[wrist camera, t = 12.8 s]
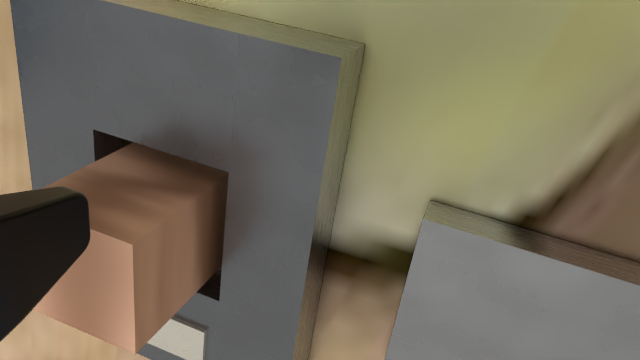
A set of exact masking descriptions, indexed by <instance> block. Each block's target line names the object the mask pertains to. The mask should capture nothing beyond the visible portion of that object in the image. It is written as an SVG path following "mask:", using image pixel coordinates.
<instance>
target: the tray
mask: <svg viewBox="0 0 640 360" xmlns="http://www.w3.org/2000/svg"><path fill="white" fill-rule="evenodd" d="M385 360H640V263H638V262H635V261H632V260H628V259H625V258H622V257H618V256H615V255H612V254H608V253H605V252H602V251H598V250H595V249H592V248H588V247H585V246H582V245H578V244H575V243H572V242H568V241H565V240H562V239H558V238H555V237H552V236H548V235H545V234H542V233H538V232H535V231H532V230H528V229H525V228H522V227H518V226H515V225H512V224H508V223H505V222H502V221H498V220H495V219H492V218H488V217H485V216H482V215H478V214H475V213H472V212H468V211H465V210H462V209H458V208H455V207H452V206H448V205H445V204H442V203H438V202H435V201H432V200H431V201H430V204H429V206H428V208H427V211H426V213H425V215H424V218H423V221H422V224H421V228H420V232H419V236H418V239H417V243H416V247H415V250H414V254H413V258H412V261H411V265H410V269H409V272H408V276H407V280H406V283H405V287H404V291H403V294H402V298H401V302H400V306H399V309H398V313H397V317H396V320H395V324H394V328H393V331H392V335H391V339H390V342H389V346H388V350H387V353H386V357H385Z"/></svg>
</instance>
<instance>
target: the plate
mask: <svg viewBox="0 0 640 360" xmlns="http://www.w3.org/2000/svg"><path fill="white" fill-rule="evenodd" d="M10 3H11V12H12V20H13V29H14V37H15V46H16V54H17V62H18V71H19V79H20V88H21V96H22V105H23V113H24V121H25V130H26V138H27V147H28V155H29V164H30V172H31V180H32V189H33V190H37V189H42V188H44V187H46V186H48V185H50V184H52V183H54V182H56V181H58V180H60V179H62V178H64V177H66V176H68V175H70V174H72V173H74V172H76V171H77V170H79V169H81V168H83V167H85V166H87V165H89V164H91V163H93V162H95V161H97V160H99V159H101V158H103V157H105V156H107V155H109V154H111V153H113V152H115V151H117V150H119V149H121V148H123V147H125V146H127V145H129V144H131V143H133V142H135V143H138V144H141V145H144V146H147V147H150V148H154V149H157V150H160V151H163V152H166V153H169V154H172V155H176V156H179V157H182V158H185V159H188V160H191V161H194V162H198V163H201V164H204V165H207V166H210V167H213V168H216V169H220V170H223V171H226V172H229V175H228V188H227V202H226V216H225V230H224V244H223V258H222V266H221V267H220V269H219V270H218V271H217V272H216V273H215V274H214V275H213V276H212V277H211V278H210V279H209V280H208V281H207V282H206V283H205V284H204V285H203V286H202V287H201V288H200V289H199V290H198V291H197V292H196V293H195V294H194V295H193V296H192V297H191V298H190V299H189V300H188V301H187V302H186V303H185V304H184V305H183V306H182V307H181V308H180V309H179V310H178V311H177V312H176V313H175V314H174V316H173V317H172V318H171V319H170V320H169V321H168V322H167V323H166V324H165V325H164V326H163V327H162V328H161V329H160V330H159V331H158V332H157V333H156V334H155V335H154V336H153V337H152V338H151V339H150V340H149V341H148V342H147V343H146V344H145V345H144V346H143V347H142V348H141V349H140V350H139V351H138V352H137V353H138V354H140V355H142V356H144V357H147V358H149V359H151V360H308V357H309V351H310V346H311V340H312V335H313V329H314V324H315V318H316V313H317V307H318V302H319V296H320V291H321V285H322V280H323V274H324V269H325V263H326V257H327V252H328V246H329V241H330V235H331V230H332V224H333V219H334V213H335V208H336V202H337V197H338V191H339V186H340V180H341V175H342V169H343V164H344V158H345V153H346V147H347V142H348V136H349V131H350V125H351V120H352V114H353V109H354V103H355V97H356V92H357V86H358V81H359V75H360V70H361V64H362V59H363V53H364V48H365V44H364V43H360V42H355V41H351V40H347V39H342V38H338V37H334V36H329V35H325V34H321V33H316V32H312V31H307V30H303V29H299V28H294V27H290V26H286V25H281V24H277V23H273V22H268V21H264V20H260V19H255V18H251V17H247V16H242V15H238V14H234V13H229V12H225V11H221V10H216V9H212V8H208V7H203V6H199V5H195V4H190V3H186V2H182V1H177V0H10Z"/></svg>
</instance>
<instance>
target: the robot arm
mask: <svg viewBox="0 0 640 360" xmlns="http://www.w3.org/2000/svg"><path fill="white" fill-rule="evenodd" d="M90 235H91V234H90V218H89V203H88V199H87V197H86V195H84V194H83V193H81V192H79V191H76V190H73V189H70V188H68V187H63V186H58V187H51V188H44V189H37V190H31V191H24V192H17V193H10V194H3V195H0V341H2V340H3V339H4V338H5V337H6V336H7V335H8V334H9V333H10V332H11V331H12V330H13V329H14V328H15V327H16V326H17V325H18V324H19V323H20V322H21V321H22V320H23V319H24V318H25V317H26V316H27V315H28V314H29V313H30V312H31V311H32V310H33V309H34V307H35V306H36V305H37V304H38V303H39V302H40V301H41V300H42V298H43V297H44V296H45V295H46V294H47V293H48V292H49V291H50V289H51V288H52V287H53V286H54V285H55V284H56V283H57V282H58V280H59V279H60V278H61V277H62V276H63V275H64V274H65V273H66V271H67V270H68V269H69V268H70V267H71V266H72V265H73V264H74V263H75V261H76V260H77V259H78V258H79V257H80V256H81V255H82V254H83V252H84V251H85V250H86V248H87V246H88V244H89V242H90Z"/></svg>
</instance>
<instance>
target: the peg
mask: <svg viewBox="0 0 640 360" xmlns="http://www.w3.org/2000/svg"><path fill="white" fill-rule="evenodd" d="M228 175H229V172H226V171H223V170H220V169H216V168H213V167H210V166H207V165H204V164H201V163H198V162H194V161H191V160H188V159H185V158H182V157H179V156H176V155H172V154H169V153H166V152H163V151H160V150H157V149H154V148H150V147H147V146H144V145H141V144H138V143H135V142H133V143H131V144H129V145H127V146H125V147H123V148H121V149H119V150H117V151H115V152H113V153H111V154H109V155H107V156H105V157H103V158H101V159H99V160H97V161H95V162H93V163H91V164H89V165H87V166H85V167H83V168H81V169H79V170H77V171H76V172H74V173H72V174H70V175H68V176H66V177H64V178H62V179H60V180H58V181H56V182H54V183H52V184H50V185H48V186H46V187H44V188H51V187H58V186H63V187H68V188H70V189H73V190H76V191H79V192H81V193H83V194H84V195H86V197H87V199H88V203H89V218H90V234H91V235H90V242H89V244H88V246H87V248H86V250H85V251H84V252H83V254H82V255H81V256H80V257H79V258H78V259H77V260H76V261H75V263H74V264H73V265H72V266H71V267H70V268H69V269H68V270H67V271H66V273H65V274H64V275H63V276H62V277H61V278H60V279H59V280H58V282H57V283H56V284H55V285H54V286H53V287H52V288H51V289H50V291H49V292H48V293H47V294H46V295H45V296H44V297H43V298H42V300H41V301H40V302H39V303H38V304H37V305H36V306H35V307H34V309H33V310H35V311H37V312H39V313H42V314H44V315H46V316H49V317H51V318H53V319H55V320H58V321H60V322H62V323H65V324H67V325H69V326H72V327H74V328H76V329H78V330H81V331H83V332H85V333H88V334H90V335H92V336H94V337H97V338H99V339H101V340H104V341H106V342H108V343H111V344H113V345H115V346H117V347H120V348H122V349H124V350H127V351H129V352H131V353H134V354H136V353H137V352H138V351H139V350H140V349H141V348H142V347H143V346H144V345H145V344H146V343H147V342H148V341H149V340H150V339H151V338H152V337H153V336H154V335H155V334H156V333H157V332H158V331H159V330H160V329H161V328H162V327H163V326H164V325H165V324H166V323H167V322H168V321H169V320H170V319H171V318H172V317H173V316H174V314H175V313H176V312H177V311H178V310H179V309H180V308H181V307H182V306H183V305H184V304H185V303H186V302H187V301H188V300H189V299H190V298H191V297H192V296H193V295H194V294H195V293H196V292H197V291H198V290H199V289H200V288H201V287H202V286H203V285H204V284H205V283H206V282H207V281H208V280H209V279H210V278H211V277H212V276H213V275H214V274H215V273H216V272H217V271H218V270H219V269H220V267H221V266H222V258H223V244H224V230H225V216H226V202H227V188H228ZM44 188H42V189H44Z"/></svg>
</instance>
